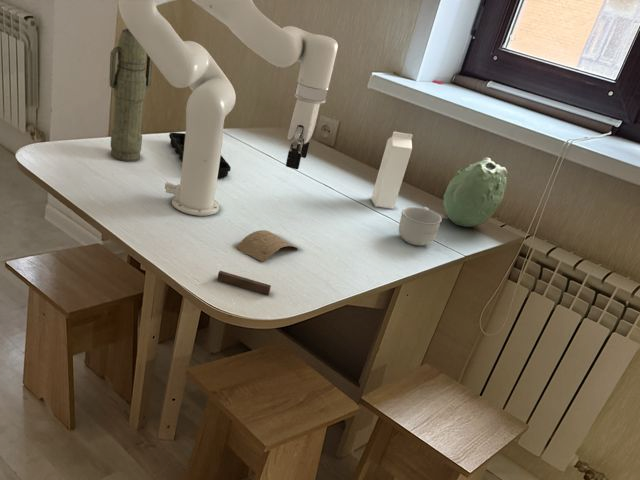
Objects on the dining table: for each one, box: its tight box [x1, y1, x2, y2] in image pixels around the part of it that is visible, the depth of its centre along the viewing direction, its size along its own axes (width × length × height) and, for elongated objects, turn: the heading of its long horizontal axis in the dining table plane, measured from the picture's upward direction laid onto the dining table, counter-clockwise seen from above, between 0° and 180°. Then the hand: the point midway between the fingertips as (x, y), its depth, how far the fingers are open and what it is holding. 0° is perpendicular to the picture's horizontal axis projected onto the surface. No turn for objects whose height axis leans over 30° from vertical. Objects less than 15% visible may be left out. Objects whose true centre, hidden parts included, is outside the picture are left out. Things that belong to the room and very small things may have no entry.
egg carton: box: [168, 132, 232, 179], centre depth 209 cm, size 18×30×4 cm, turn 32°
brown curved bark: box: [236, 229, 300, 262], centre depth 168 cm, size 14×10×3 cm
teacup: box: [398, 206, 443, 247], centre depth 188 cm, size 14×11×8 cm
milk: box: [370, 131, 413, 210], centre depth 202 cm, size 6×6×22 cm
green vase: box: [442, 156, 508, 228], centre depth 200 cm, size 16×19×20 cm
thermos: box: [108, 28, 153, 163], centre depth 193 cm, size 9×12×35 cm
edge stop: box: [216, 270, 272, 296], centre depth 151 cm, size 12×1×2 cm, turn 75°
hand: (296, 161), depth 170 cm, fingers open, 9 cm apart
